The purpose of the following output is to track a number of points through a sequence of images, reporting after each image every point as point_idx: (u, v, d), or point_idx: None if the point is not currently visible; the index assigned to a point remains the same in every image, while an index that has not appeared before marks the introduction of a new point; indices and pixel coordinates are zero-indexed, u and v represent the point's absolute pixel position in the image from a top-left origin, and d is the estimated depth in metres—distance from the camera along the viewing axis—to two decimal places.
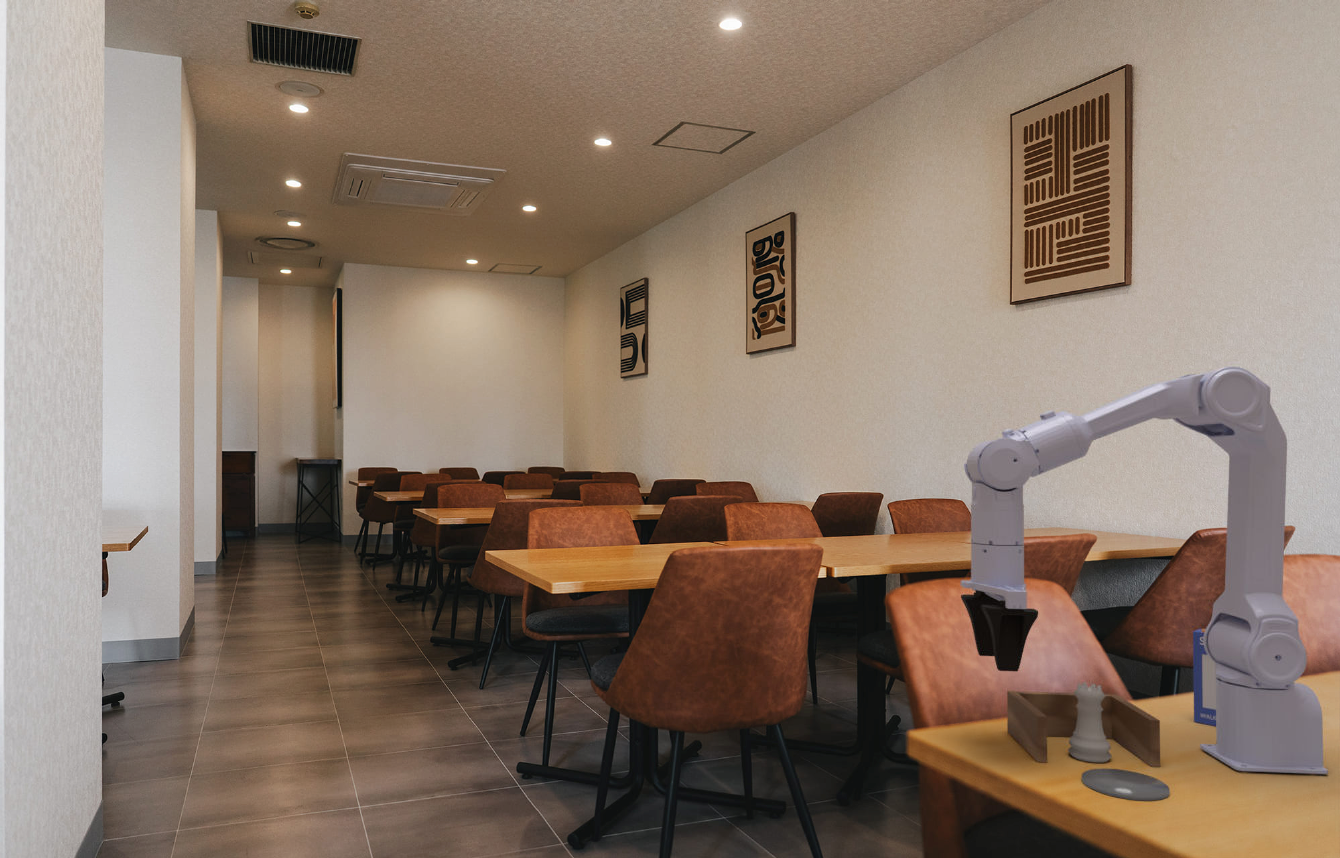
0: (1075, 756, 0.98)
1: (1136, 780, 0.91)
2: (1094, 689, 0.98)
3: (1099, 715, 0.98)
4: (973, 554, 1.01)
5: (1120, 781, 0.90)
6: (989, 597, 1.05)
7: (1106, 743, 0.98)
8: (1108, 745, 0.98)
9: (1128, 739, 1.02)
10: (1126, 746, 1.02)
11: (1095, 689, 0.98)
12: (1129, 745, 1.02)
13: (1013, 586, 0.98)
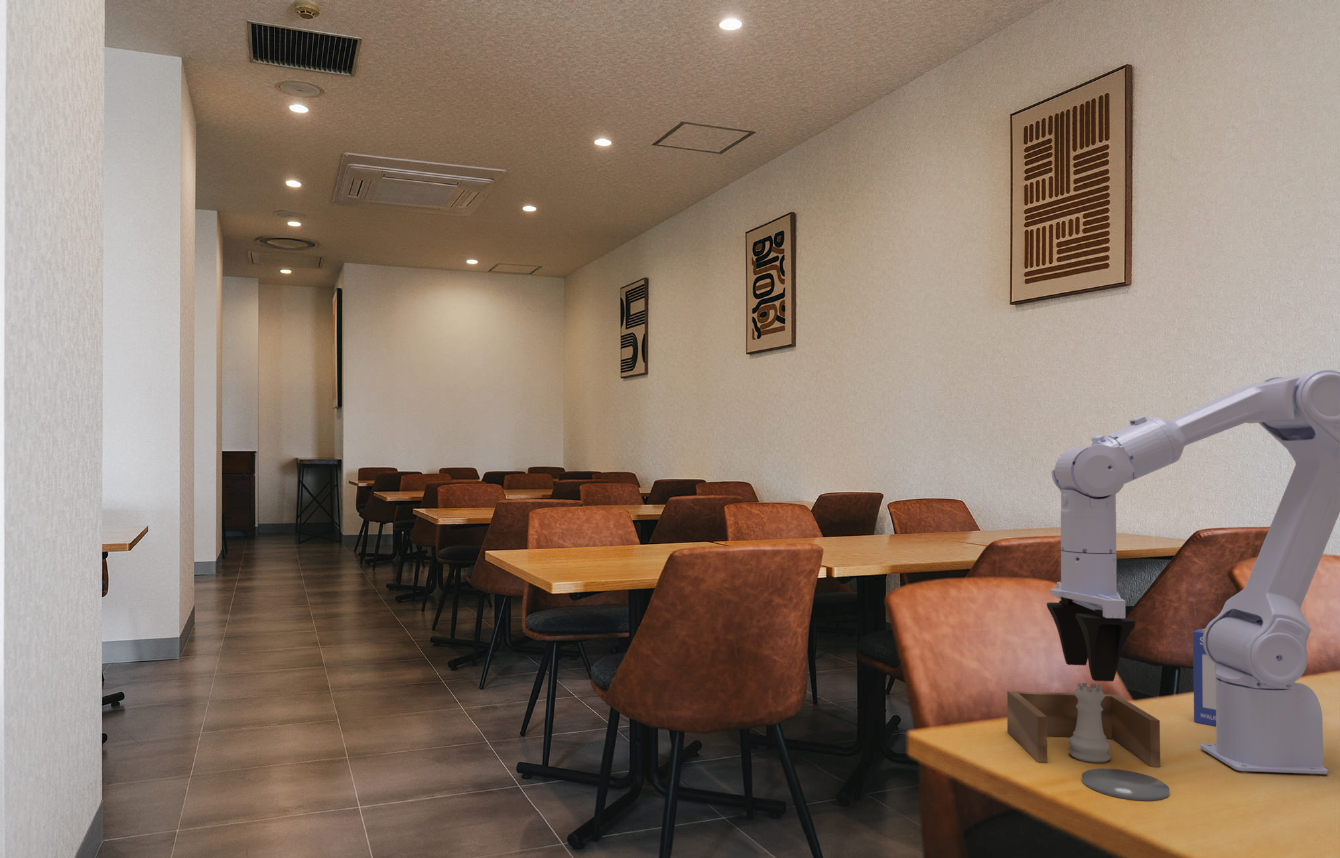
0: (1075, 756, 0.98)
1: (1136, 780, 0.91)
2: (1094, 689, 0.98)
3: (1099, 715, 0.98)
4: (1064, 562, 1.00)
5: (1120, 781, 0.90)
6: (1077, 605, 1.04)
7: (1106, 743, 0.98)
8: (1108, 745, 0.98)
9: (1128, 739, 1.02)
10: (1126, 746, 1.02)
11: (1095, 689, 0.98)
12: (1129, 745, 1.02)
13: (1107, 595, 0.97)
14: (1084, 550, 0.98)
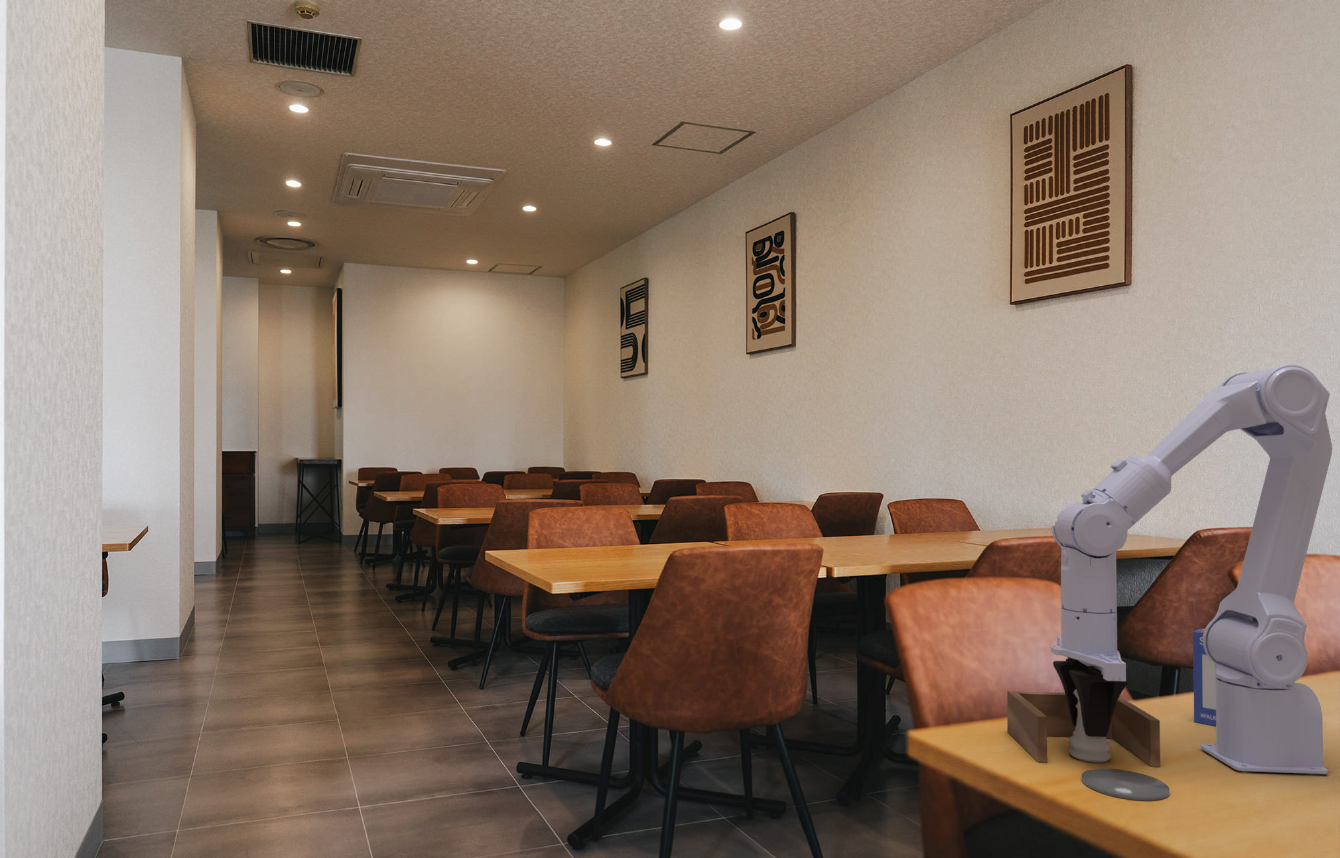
0: (1075, 756, 0.98)
1: (1136, 780, 0.91)
2: None
3: None
4: (1064, 620, 1.00)
5: (1120, 781, 0.90)
6: (1084, 665, 1.01)
7: (1106, 743, 0.98)
8: (1108, 745, 0.98)
9: (1128, 739, 1.02)
10: (1126, 746, 1.02)
11: None
12: (1129, 745, 1.02)
13: (1107, 654, 0.97)
14: (1084, 609, 0.98)
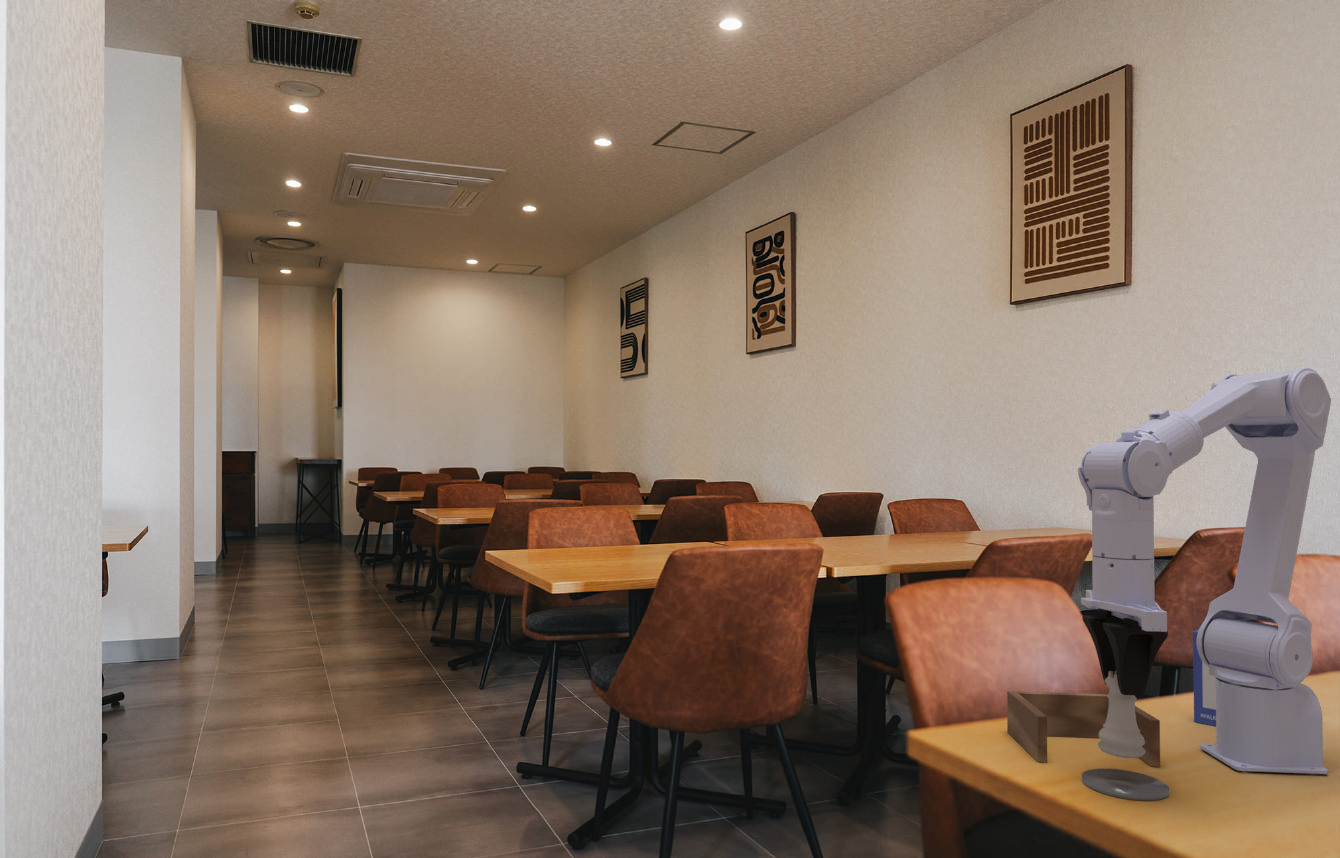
0: (1104, 750, 0.90)
1: (1136, 780, 0.91)
2: None
3: (1132, 706, 0.89)
4: (1096, 569, 0.91)
5: (1120, 781, 0.90)
6: (1117, 619, 0.93)
7: (1139, 737, 0.89)
8: (1142, 739, 0.89)
9: None
10: None
11: None
12: None
13: (1145, 605, 0.88)
14: (1131, 556, 0.89)
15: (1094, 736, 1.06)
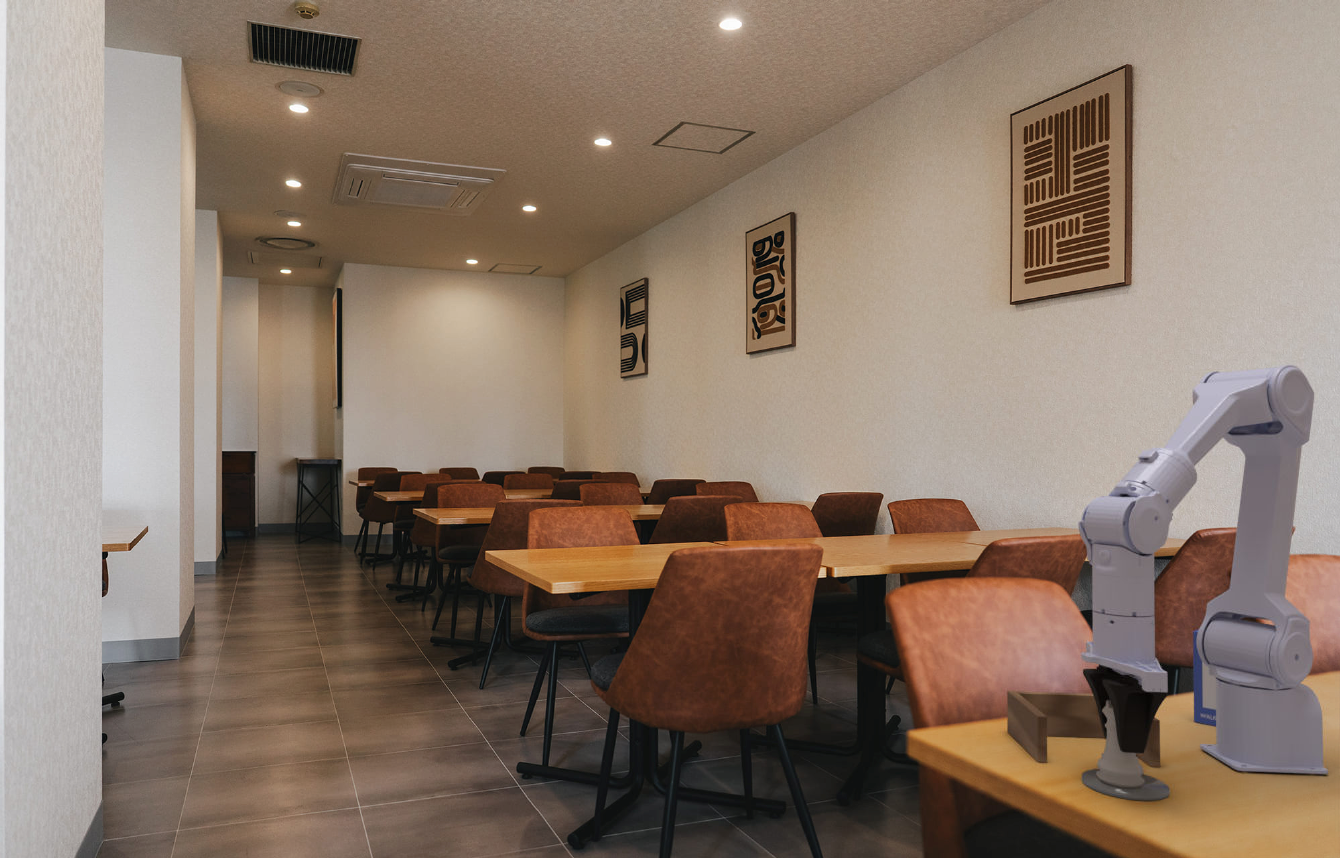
0: (1103, 780, 0.90)
1: None
2: None
3: None
4: (1097, 624, 0.91)
5: None
6: (1117, 674, 0.92)
7: (1138, 767, 0.89)
8: (1140, 769, 0.89)
9: None
10: None
11: None
12: None
13: (1145, 662, 0.88)
14: (1132, 613, 0.89)
15: (1094, 736, 1.06)
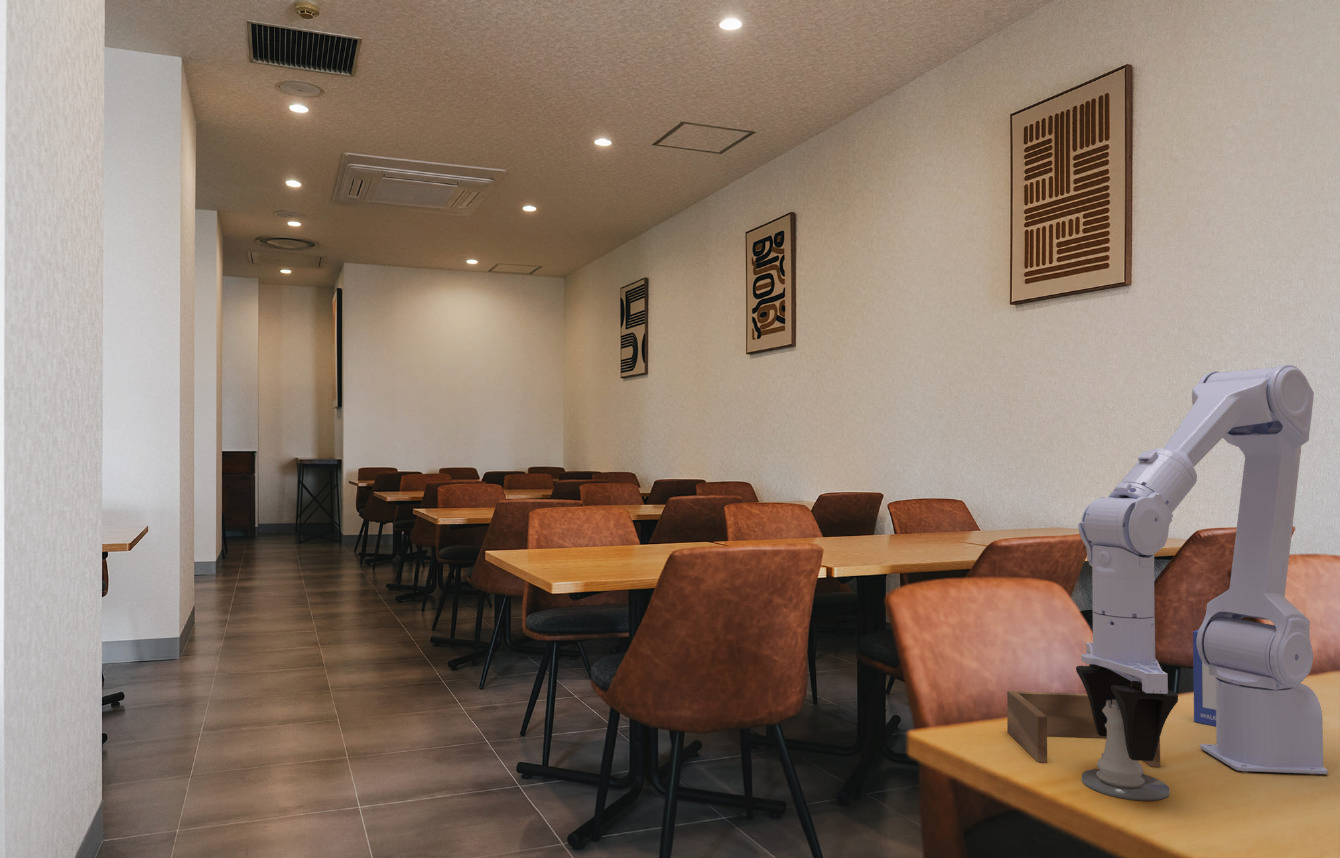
0: (1103, 780, 0.90)
1: None
2: None
3: None
4: (1097, 626, 0.91)
5: None
6: (1110, 671, 0.94)
7: (1138, 767, 0.89)
8: (1140, 769, 0.89)
9: None
10: None
11: None
12: None
13: (1145, 664, 0.88)
14: (1132, 615, 0.89)
15: (1094, 736, 1.06)
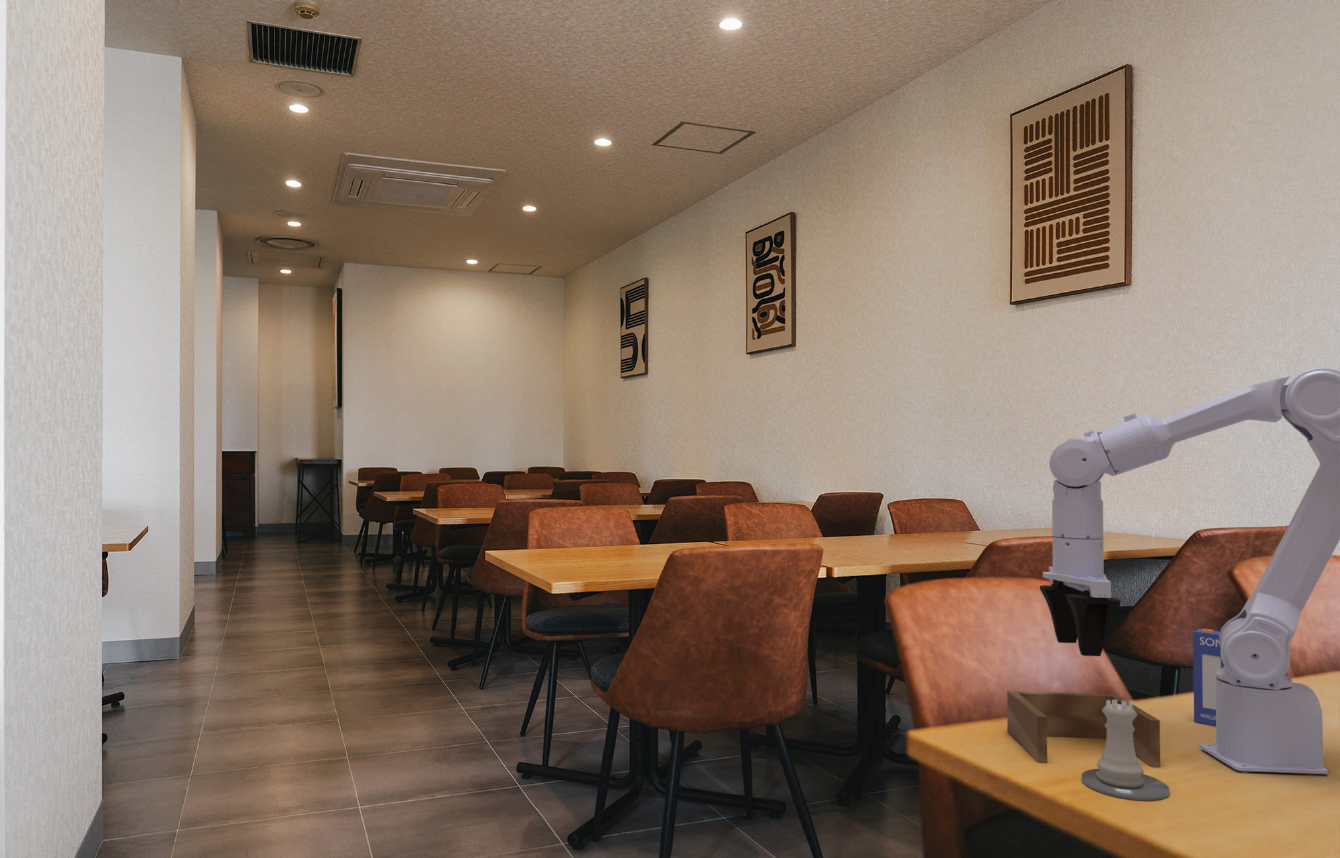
0: (1103, 780, 0.90)
1: None
2: (1124, 707, 0.89)
3: (1130, 736, 0.89)
4: (1055, 547, 1.08)
5: None
6: (1067, 588, 1.12)
7: (1138, 767, 0.89)
8: (1140, 769, 0.89)
9: None
10: None
11: (1125, 707, 0.89)
12: None
13: (1095, 577, 1.06)
14: (1063, 535, 1.07)
15: (1094, 736, 1.06)
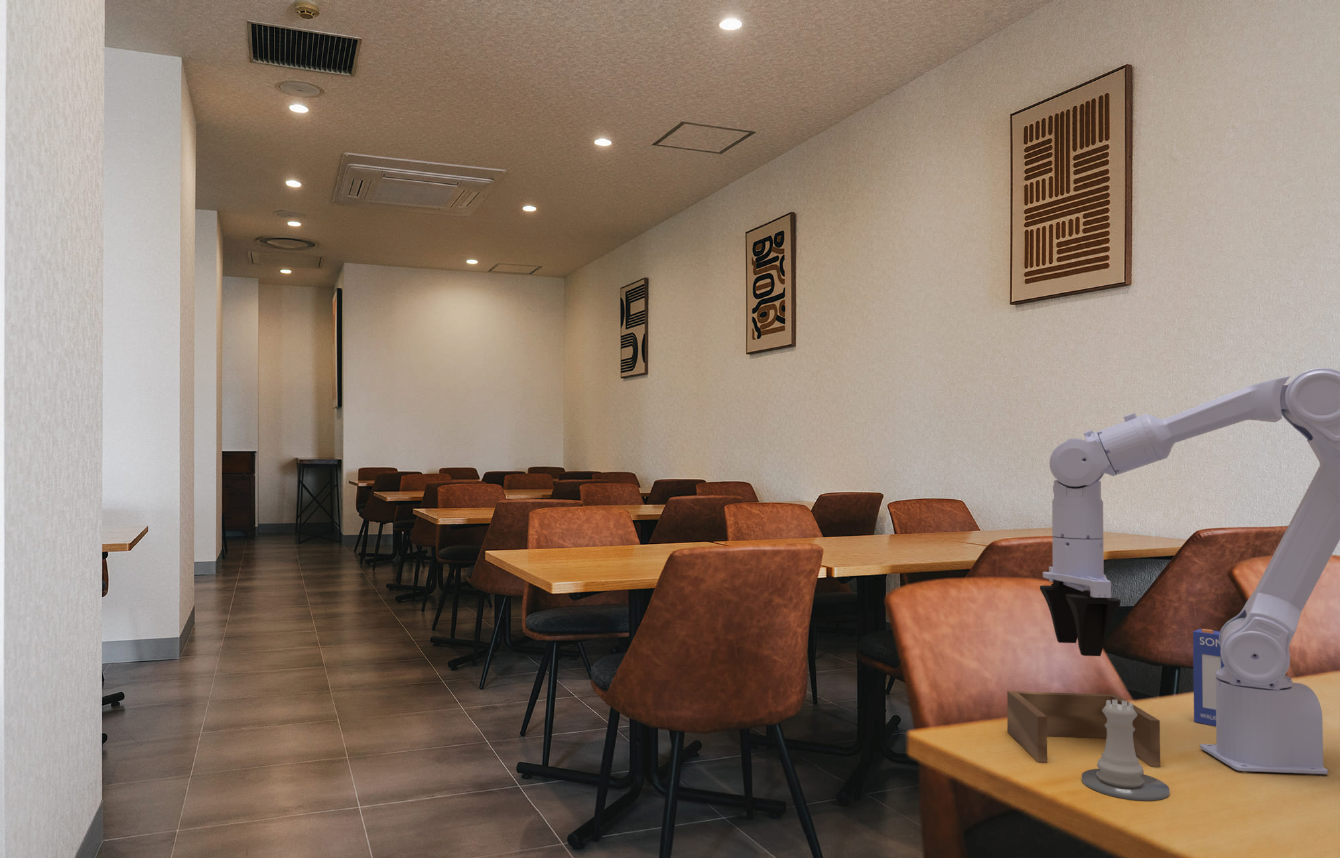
0: (1103, 780, 0.90)
1: None
2: (1124, 707, 0.89)
3: (1130, 736, 0.89)
4: (1055, 547, 1.08)
5: None
6: (1067, 588, 1.12)
7: (1138, 767, 0.89)
8: (1140, 769, 0.89)
9: None
10: None
11: (1125, 707, 0.89)
12: None
13: (1095, 577, 1.06)
14: (1063, 535, 1.07)
15: (1094, 736, 1.06)
